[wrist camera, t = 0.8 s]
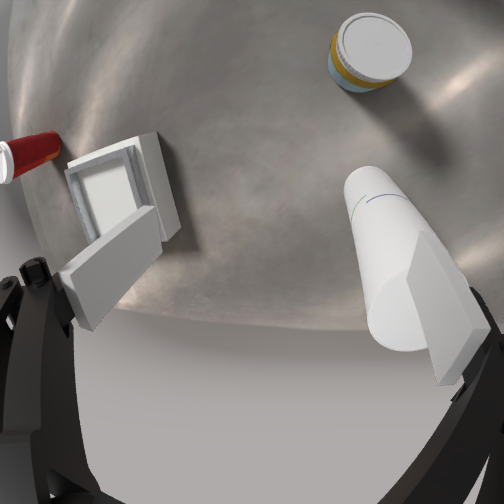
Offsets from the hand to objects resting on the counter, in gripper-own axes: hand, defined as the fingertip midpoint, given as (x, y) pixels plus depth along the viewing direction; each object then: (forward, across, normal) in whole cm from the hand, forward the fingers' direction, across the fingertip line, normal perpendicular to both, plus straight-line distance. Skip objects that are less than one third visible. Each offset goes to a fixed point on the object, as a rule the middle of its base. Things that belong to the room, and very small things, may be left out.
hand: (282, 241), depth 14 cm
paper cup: (+27, -47, +3) cm, 54 cm away
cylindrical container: (+27, +9, -5) cm, 29 cm away
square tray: (+26, -28, -6) cm, 39 cm away
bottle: (+27, +6, +12) cm, 30 cm away
